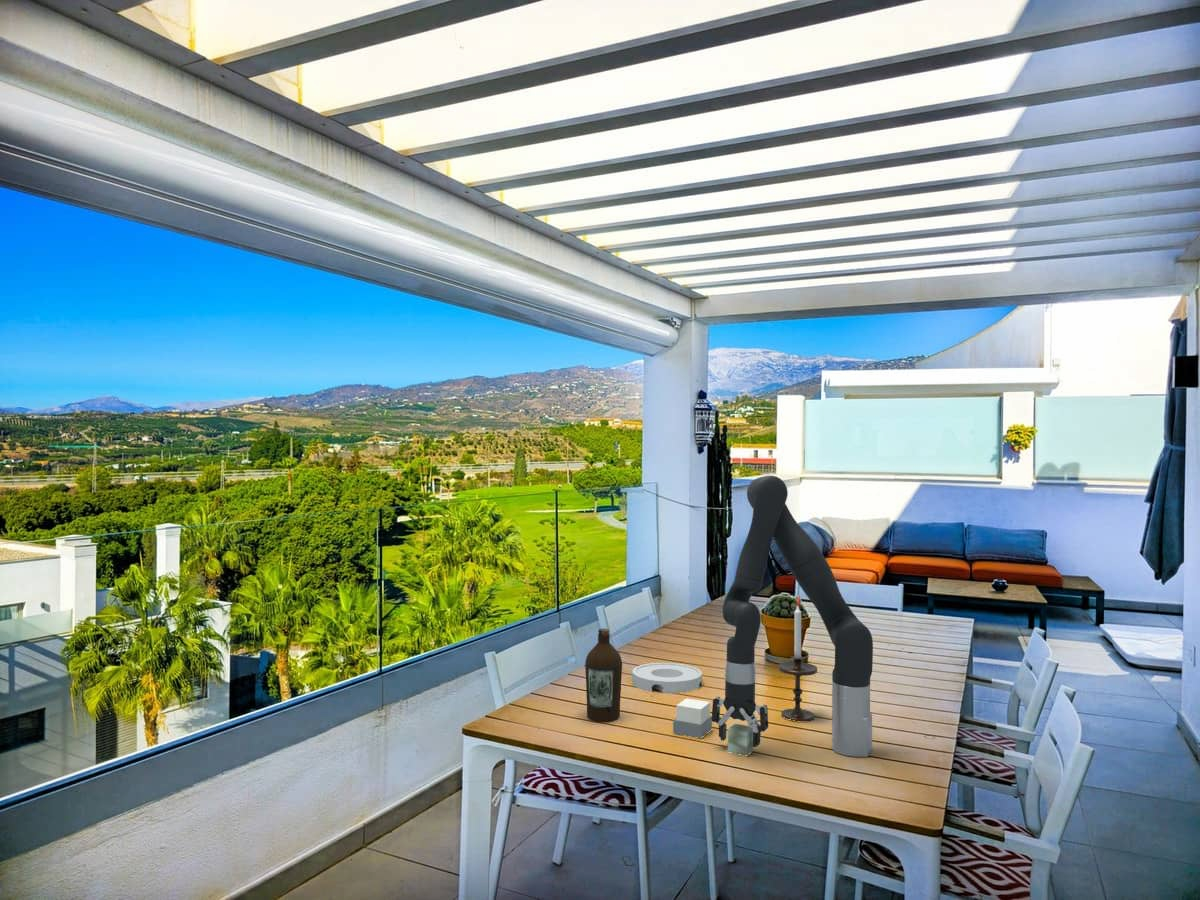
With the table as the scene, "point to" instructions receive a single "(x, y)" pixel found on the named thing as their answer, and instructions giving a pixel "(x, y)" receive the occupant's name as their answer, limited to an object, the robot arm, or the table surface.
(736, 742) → the sage block
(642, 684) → the ashtray
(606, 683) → the olive oil
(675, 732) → the slate base block
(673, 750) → the table surface
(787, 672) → the candlestick
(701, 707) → the cream top block
